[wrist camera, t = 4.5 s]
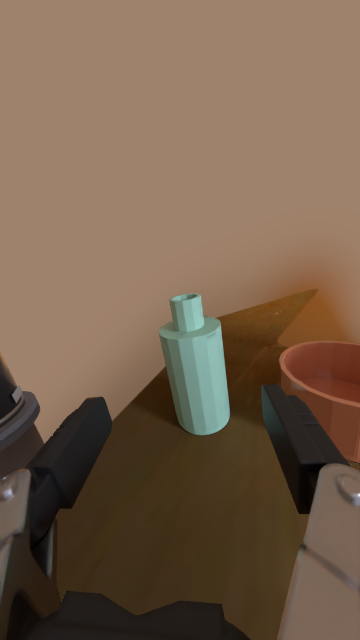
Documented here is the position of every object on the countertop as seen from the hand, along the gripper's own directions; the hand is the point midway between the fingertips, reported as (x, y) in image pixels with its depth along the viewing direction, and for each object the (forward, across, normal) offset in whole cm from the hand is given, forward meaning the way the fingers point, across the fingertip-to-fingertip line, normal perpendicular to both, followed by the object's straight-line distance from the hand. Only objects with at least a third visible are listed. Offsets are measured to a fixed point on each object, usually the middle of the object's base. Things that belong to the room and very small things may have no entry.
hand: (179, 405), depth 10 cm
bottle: (+11, 0, +11) cm, 15 cm away
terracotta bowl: (+10, -14, +11) cm, 20 cm away
